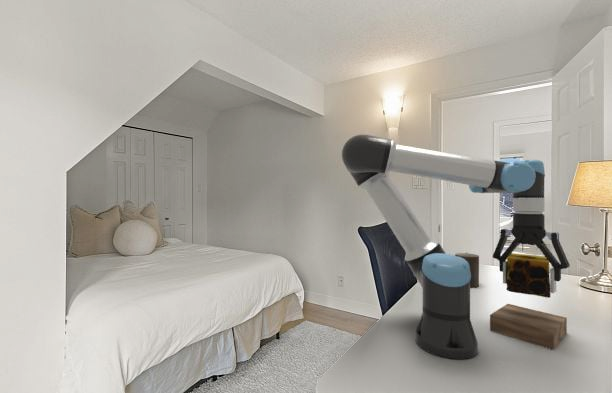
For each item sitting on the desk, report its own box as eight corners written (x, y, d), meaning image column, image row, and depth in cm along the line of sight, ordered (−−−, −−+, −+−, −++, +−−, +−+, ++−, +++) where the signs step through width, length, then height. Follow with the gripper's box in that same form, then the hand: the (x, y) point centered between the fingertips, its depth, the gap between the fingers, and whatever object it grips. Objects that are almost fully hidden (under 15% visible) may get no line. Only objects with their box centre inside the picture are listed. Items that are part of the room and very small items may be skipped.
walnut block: (553, 351, 79) (553, 332, 79) (489, 331, 91) (490, 314, 91) (566, 334, 88) (566, 317, 88) (507, 318, 100) (507, 303, 100)
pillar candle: (471, 289, 130) (471, 254, 130) (450, 283, 139) (450, 250, 139) (483, 286, 136) (483, 252, 136) (462, 280, 144) (462, 249, 144)
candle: (550, 298, 82) (550, 262, 82) (506, 291, 89) (506, 257, 89) (550, 289, 90) (550, 256, 90) (509, 283, 97) (509, 252, 97)
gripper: (584, 214, 83) (584, 294, 83) (490, 211, 101) (490, 276, 101) (577, 215, 78) (577, 300, 78) (480, 211, 96) (480, 280, 96)
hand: (528, 287), depth 90 cm, fingers closed on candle, 11 cm apart
